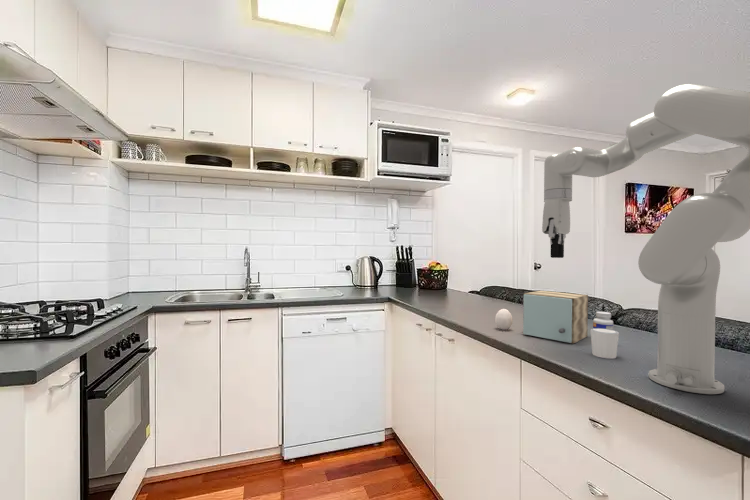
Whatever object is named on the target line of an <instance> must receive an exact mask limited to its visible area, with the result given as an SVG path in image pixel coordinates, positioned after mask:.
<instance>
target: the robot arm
mask: <svg viewBox="0 0 750 500" xmlns="http://www.w3.org/2000/svg"><path fill="white" fill-rule="evenodd" d="M694 135H700V136H705V137H707V138H713V139H716V140H721V141H722V142H727V143H730V144H733V145H736V146H740V147H743V148H745V149H747V154H746V155H745V156H744V158H743V159H741V160H740V162H738V163H737V164H735V166H734V167H733V168H732V169H731V170H730V171H729V172H728V173H727V174H726V176H725V177H724V179H723V180H722V181H721V182H720V184H719V185H718V186H717V187H716V188H715V189H714V190H713V192H705V193H699V194H694V195H691V196H688V197H687V198H685V199H683V200H682V201H680V202H679V203H678V204H677V205H675V207H673V209H672V210H671V211H670V212H669V213H668V214H667V216H666V217H665V219H664V220H663V222H662V223H660V225H659V227H657V229H656V230H655V232H654V233H653V234H652V236H650V238H649V240H648V241H647V242H646V244H645V245H644V246H643V248H642V250H641V252H640V253H639V256H638V264H637V265H638V268H639V271H640V273H641V274H642V276H643V277H644V278H645V279H647V281H650V282H652V283H654V284H657V285H660V287H659V293H658V294H659V295H658V301H657V302H658V303H657V349H656V351H657V361H656V362H657V364H656V368H654V369H651V370H649V371H648V378H649V379H650V380H651V381H652V382H655V383H656V384H659V385H662V386H664V387H667V388H671V389H675V390H678V391H683V392H686V393H687V392H688V393H693V394H701V395H702V394H703V395H720V394H723V393H725V389H726V388H725V385H724V384H723V383H722V382H721V381H719V380H717V379H715V370H716V369H715V368H716V367H715V365H716V363H715V360H716V359H715V358H716V357H715V355H716V350H715V349H716V312H717V311H716V310H717V309H716V304H717V303H716V302H717V292H718V285H719V280H720V274H721V261H720V258H719V256H718V254H717V252H716V251H715V250H714V249H713V248H714V247H715V245H716V244H717V243H727V242H733V241H736V240H738V239H741V238H742V237H743V236H745V235H746V234H747V233H748V232H749V230H750V91H746V90H738V89H733V88H730V89H729V88H725V87H724V88H723V87H716V86H710V85H704V84H698V83H685V84H679V85H677V86H674V87H672V88H669V89H668V90H667V91H666V92H664V93H663V94H662V95H661V96H660V97H659V98H658V99H657V101H656V103H655V105H654V107H653V111H651V112H650V113H648V114H646V115H643V116H642V117H639V118H637V119H634V120H633V121H631V122H629V123H628V124H627V126H626V130H625V138H623V139H622V140H621V141H619V142H617V143H616V144H613V145H610V146H609V147H605V148H603V149H601V150H598V149H595V148H590V147H589V148H588V147H584V146H574V147H572V148H569V149H567V150H565V151H563V152H561V153H554V154H551V155H549V156H547V157H546V158H545V159H544V163H543V165H544V167H543V169H544V170H543V171H544V172H543V177H544V178H543V203H544V204H543V211H542V227H541V228H542V229H541V230H542V233H543V234H545V235H547V236H548V238H549V240H550V241H549V243H550V258H551V259H552V258H553V259H561V258H563V259H564V257H565V239H566V238H567V235H568V234H570V232H571V210H570V209H571V208H570V202H572V201H573V176H582V177H587V178H600V177H601V178H602V177H604V176H608V175H609V174H612V173H614V172H617V171H620V170H624V169H626V168H627V167H629V166H631V165H633V164H634V163H636V162H637V161H639V160H640V159H641V158H643V156H644V155H646V154H648V153H650V152H653V151H656V150H658V149H661V148H663V147H666V146H668V145H670V144H673V143H676V142H678V141H681V140H685V139H687V138H689V137H692V136H694Z"/></svg>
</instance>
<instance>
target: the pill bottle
mask: <svg viewBox="0 0 750 500" xmlns="http://www.w3.org/2000/svg"><path fill="white" fill-rule="evenodd" d="M611 318H612V313H611V312H608V311H596V312H595V318H593V321H592V328H603V329H610V330H614V321H613V320H612V319H611Z"/></svg>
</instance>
